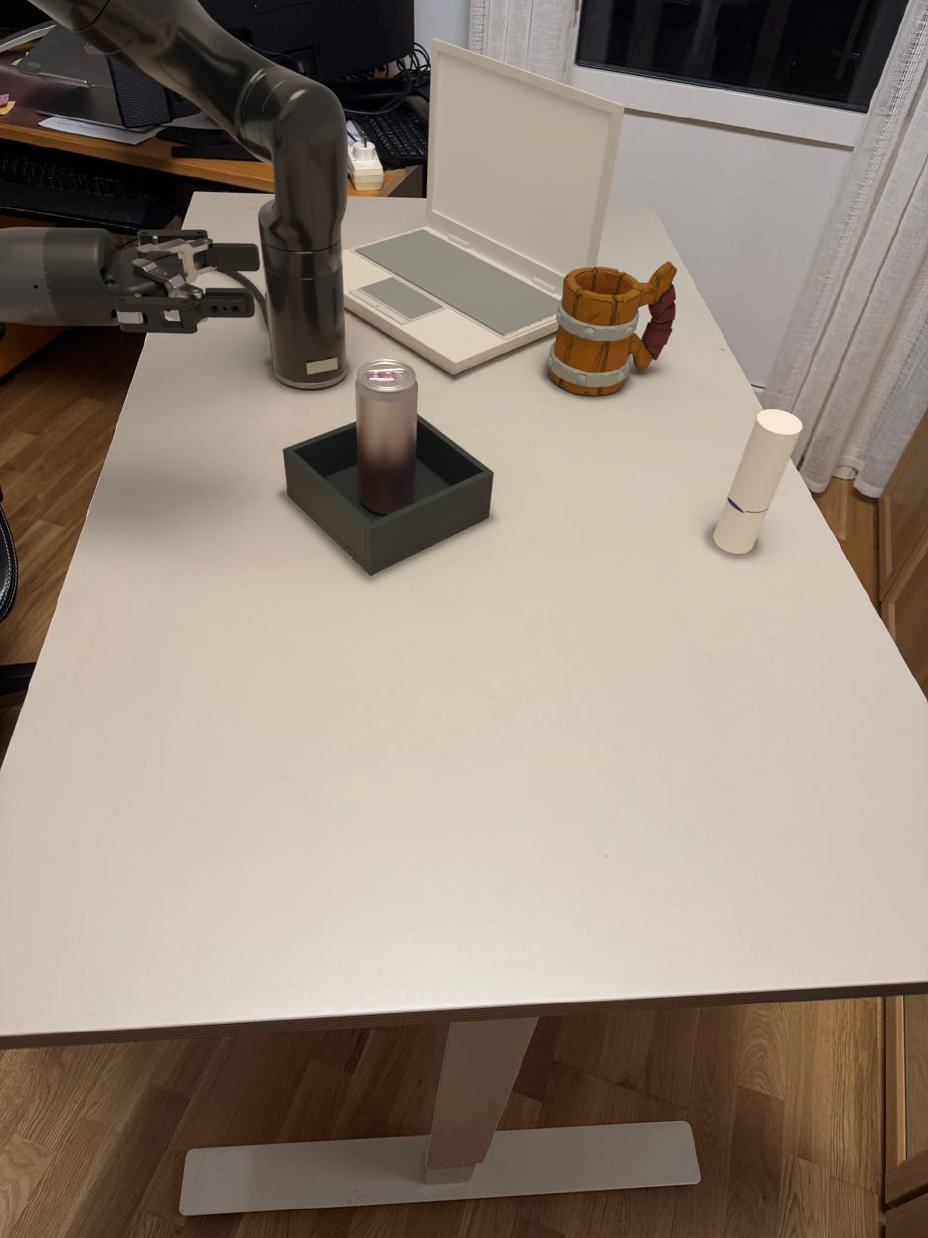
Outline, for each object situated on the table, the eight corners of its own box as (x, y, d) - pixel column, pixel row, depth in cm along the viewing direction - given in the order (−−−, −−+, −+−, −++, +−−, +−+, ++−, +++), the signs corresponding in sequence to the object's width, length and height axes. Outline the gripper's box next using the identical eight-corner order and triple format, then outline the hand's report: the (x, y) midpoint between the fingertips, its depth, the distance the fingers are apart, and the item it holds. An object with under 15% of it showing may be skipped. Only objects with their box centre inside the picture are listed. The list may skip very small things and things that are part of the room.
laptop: (297, 281, 126) (280, 60, 105) (430, 240, 139) (437, 36, 119) (454, 381, 109) (469, 141, 89) (587, 323, 123) (628, 104, 102)
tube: (754, 533, 92) (803, 415, 81) (750, 558, 89) (801, 438, 78) (715, 523, 93) (759, 405, 82) (710, 547, 90) (754, 428, 79)
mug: (534, 357, 115) (549, 246, 104) (646, 351, 118) (672, 243, 107) (556, 400, 108) (575, 286, 97) (675, 393, 111) (706, 282, 100)
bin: (287, 494, 91) (282, 448, 87) (402, 447, 99) (403, 402, 94) (370, 575, 83) (369, 529, 79) (489, 517, 91) (494, 472, 86)
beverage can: (358, 482, 92) (355, 357, 81) (413, 482, 93) (416, 358, 82) (358, 517, 88) (354, 390, 77) (415, 517, 88) (419, 391, 78)
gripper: (21, 270, 62) (247, 273, 64) (60, 196, 71) (255, 200, 74) (51, 363, 67) (258, 362, 69) (83, 282, 77) (264, 284, 79)
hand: (256, 279), depth 71 cm, fingers open, 8 cm apart
